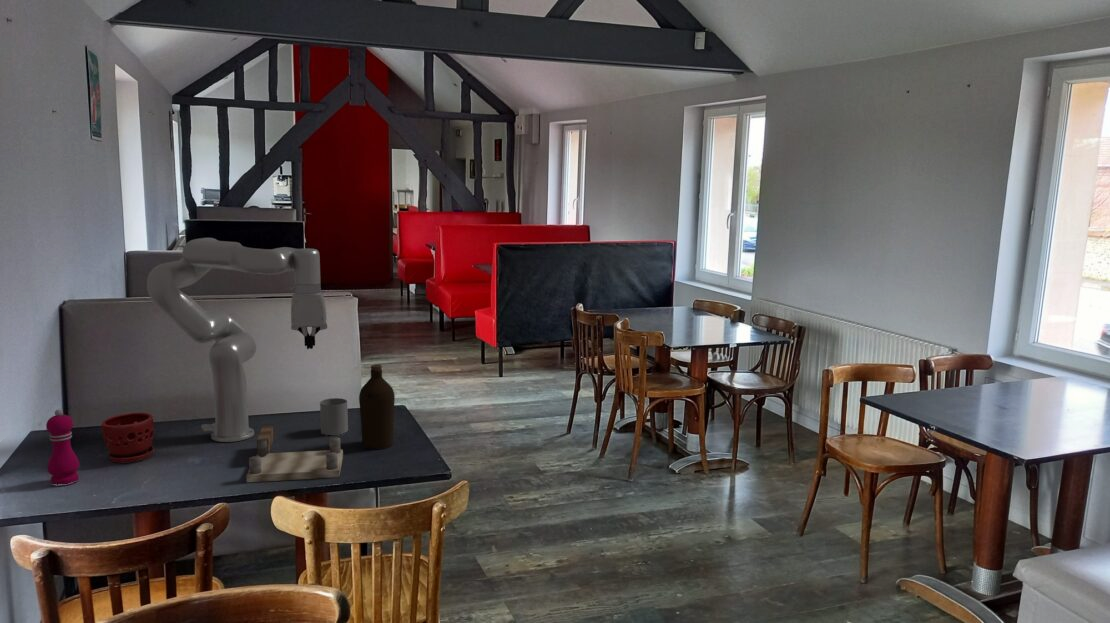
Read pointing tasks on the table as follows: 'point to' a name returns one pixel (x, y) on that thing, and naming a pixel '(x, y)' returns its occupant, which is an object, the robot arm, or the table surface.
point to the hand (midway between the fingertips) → (310, 348)
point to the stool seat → (297, 464)
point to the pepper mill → (62, 450)
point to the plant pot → (129, 437)
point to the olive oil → (377, 411)
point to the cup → (334, 416)
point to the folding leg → (265, 440)
